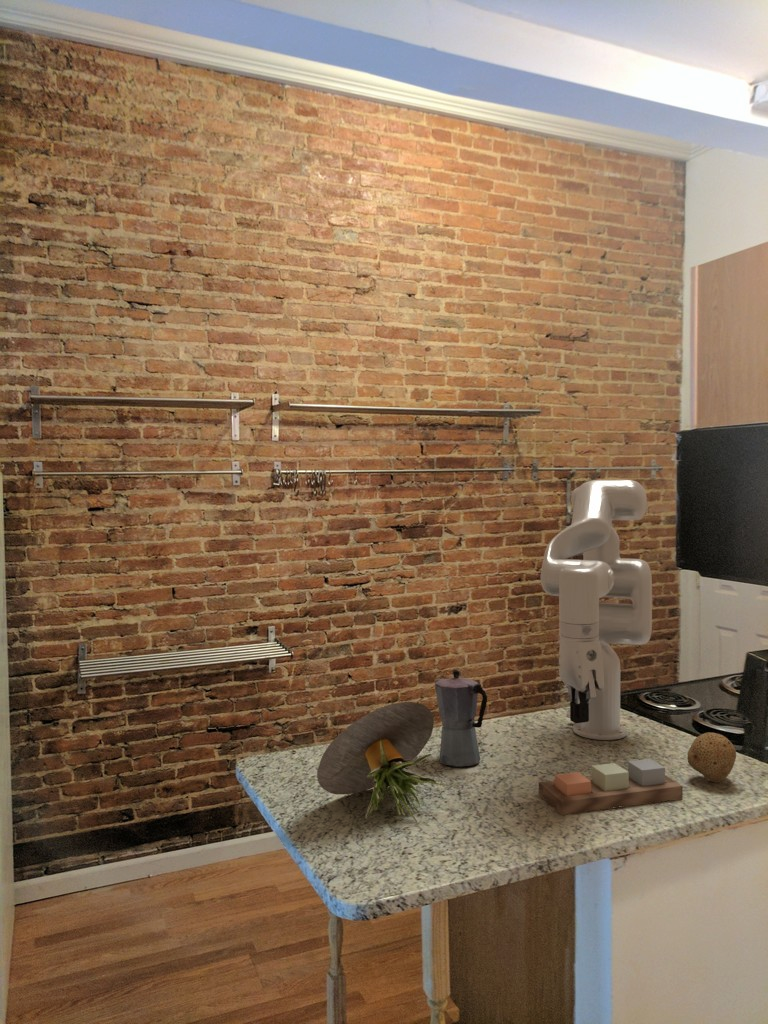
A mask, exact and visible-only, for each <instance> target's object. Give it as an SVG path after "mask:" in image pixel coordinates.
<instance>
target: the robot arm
mask: <svg viewBox="0 0 768 1024" xmlns="http://www.w3.org/2000/svg"><path fill="white" fill-rule="evenodd" d="M570 498H571V499H570V500H571V501H570V502H571V507H572V511H573V512H572V518H571V523H570V525H568V526H567V527H566V528H564V529H563V530H561V531H560V532H559V533H558V534H556V535H555V536H553V538H552V539H550V541H549V542H548V544H547V546H546V548H545V552H544V553H543V560H542V565H541V571H540V584H541V587H542V590H543V591H544V592H545V594H547V595H550V596H554V597H555V596H557V597H558V602H559V603H558V605H559V606H558V611H559V612H558V615H559V616H558V618H559V620H558V621H559V622H558V623H559V624H558V627H559V628H558V629H559V631H558V632H559V634H558V635H559V638H560V639H559V651H558V674H559V678H560V680H561V681H562V682H563V684H564V686H565V687H566V688H567V691H568V699H569V707H568V709H567V713H566V718H567V719H570V721H571V722H572V723H573V725H572V731H573V732H574V733H575V734H576V735H578V736H580V737H583V738H587V739H590V740H597V741H598V740H599V741H614V740H615V741H616V740H620V739H623V738H625V737H626V736H627V734H628V730H627V727H626V726H625V725H622V724H621V662H620V661H621V659H620V658H619V655H618V654H617V652H616V651H615V650H614V649H613V647H612V646H611V645H610V644H620V645H637V646H638V645H645V644H648V642H649V641H650V640H651V638H652V630H653V579H652V578H653V577H652V571H651V566H650V565H649V563H648V562H647V561H645V560H644V559H639V558H629V557H628V558H625V557H624V558H623V557H621V556H620V546H621V545H620V544H621V543H620V536H619V534H618V533H617V531H616V530H615V529H614V527H613V526H612V525H613V524H612V523H613V521H640V520H642V519H643V518H644V516H645V515H646V512H647V507H648V497H647V493H646V489H645V488H644V486H642V484H641V483H639V482H638V481H636V480H633V479H595V480H593V479H592V480H588V481H585V482H583V483H582V484H581V485H580V486H578V487H576V488H575V489H573V491H572V492H571V496H570ZM580 554H583V555H582V556H583V559H568V558H571V557H573V556H577V555H580ZM601 598H617V599H619V598H620V599H629V600H631V602H632V603H616V602H600V599H601Z"/></svg>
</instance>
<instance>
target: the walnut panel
mask: <svg viewBox="0 0 768 1024" xmlns="http://www.w3.org/2000/svg"><path fill="white" fill-rule="evenodd" d="M584 777H585V778H587V779H588V780H590V781H591V793H587V794H579V795H572V796H566V795H565V794H563V793H562V792H561V791H560V790H558V789H557V788H556V787H555V779H554V780H553V779H552V780H546V781H538V796H540V798H542V799H543V800H544V801H545V802H546V803H547V804H549V805H550V806H551V807H552V808H553V809H554V810H556V811H557V812H558V813H559V814H560V815H562V816H565V815H571V814H578V813H579V814H580V813H586V812H587V811H588V812H592V811H591V810H595V811H601V810H600V809H602V810H608V809H607V808H610V809H614V808H613V807H617V808H620V807H619V806H625V807H630V806H629V805H632V806H638V805H637V804H639V805H645V804H646V803H647V804H653V803H652V802H654V803H660V802H661V801H662V802H667V801H666V800H669V801H675V800H674V799H676V800H682V799H681V798H683V795H684V794H683V789H684V788H683V785H682V784H680V783H678V782H677V781H675V780H673V779H672V778H670V777H669V776H667V775H665V784H657V785H649V786H640V785H639V784H637V783H636V782H634V781H633V780H631V779H630V778H629V788H626V789H618V790H610V791H604V790H602V789H601V788H600V787H598V786H597V785H595V784H594V783H593V782H592V775H587V776H584ZM647 804H646V805H647Z"/></svg>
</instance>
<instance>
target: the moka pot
mask: <svg viewBox="0 0 768 1024" xmlns="http://www.w3.org/2000/svg"><path fill="white" fill-rule="evenodd" d="M452 674H453V677H449V678H438V679H436V680H434V682H435V683H434V688H435V693H436V700H437V707H438V713H439V717H440V718H441V725H442V727H441V738H440V748H439V761H440V763H441V764H443V765H444V766H445V765H446V766H449V767H470V766H475V765H477V764H478V763H479V762H480V761H481V756H480V749H479V744H478V737H477V731H476V728H482V726H483V720H484V715H485V711H486V708H487V704H488V696H487V693H486V691H485V690H484V689H483V687H482V684H481V683H480V684H479V682H477V681H475V680H473V679H469V678H463V677H460V671H459V670H457V669H455V670H453V671H452ZM479 694H480V695H481V696H482V699H481V703H480V708H479V712H478V715H479V717H478V719H477V722H475V717H476V716H477V709H478V708H477V706H478V696H479Z"/></svg>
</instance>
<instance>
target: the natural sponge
mask: <svg viewBox="0 0 768 1024" xmlns="http://www.w3.org/2000/svg"><path fill="white" fill-rule="evenodd" d="M688 749H689V750H688V751H687V754H686V755H687V756H686V757H687V762H688V765H689V766H690V768H691V769H693V770H694V771H696V772H698V773H699V774H701V775H702V776H703V777H704V778H706V780H708V781H709V782H711V783H716V784H717V783H719V782H722V781H724V780H725V779H727V778H728V776H729V775H730V774H731V771H732V770H733V768H734V766H735V761H736V759H737V751H736V748H735V745H734V744H733V743H732V741H730V740H729V739H728V738H727V737H726V736H724V735H723V734H720V733H716V732H709V731H708V732H705V733H702V734H699V735H698V736H697V737H695V738H694V739H693V742H692V744H691V745H690V747H689V748H688Z"/></svg>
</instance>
